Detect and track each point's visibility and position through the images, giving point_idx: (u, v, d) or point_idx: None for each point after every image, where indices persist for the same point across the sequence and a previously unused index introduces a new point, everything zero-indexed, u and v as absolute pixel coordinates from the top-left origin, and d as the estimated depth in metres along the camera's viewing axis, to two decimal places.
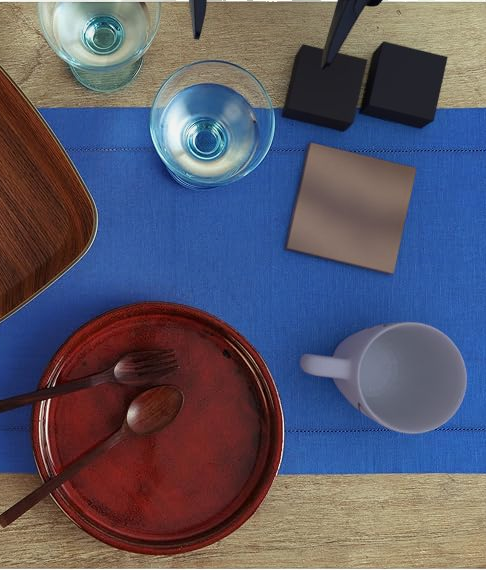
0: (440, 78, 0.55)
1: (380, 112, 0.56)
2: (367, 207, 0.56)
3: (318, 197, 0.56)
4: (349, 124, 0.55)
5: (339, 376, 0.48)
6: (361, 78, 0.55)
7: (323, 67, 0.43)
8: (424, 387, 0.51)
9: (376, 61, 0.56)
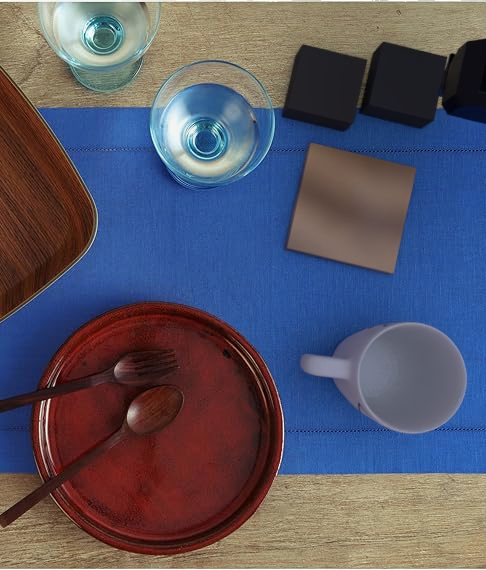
0: (440, 78, 0.55)
1: (380, 112, 0.56)
2: (367, 207, 0.56)
3: (318, 197, 0.56)
4: (349, 124, 0.55)
5: (339, 376, 0.48)
6: (361, 78, 0.55)
7: None
8: (424, 387, 0.51)
9: (376, 61, 0.56)
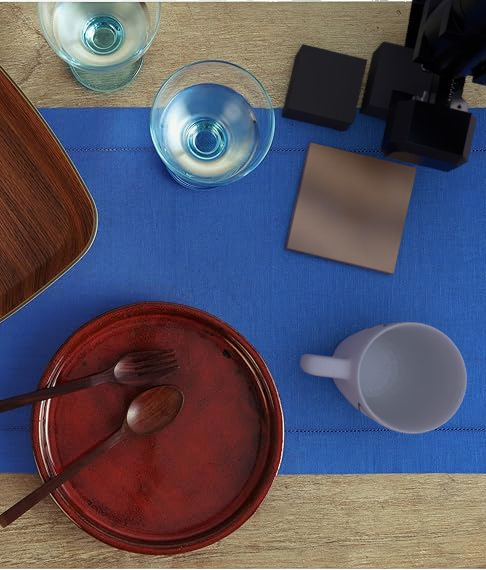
0: None
1: (380, 112, 0.56)
2: (367, 207, 0.56)
3: (318, 197, 0.56)
4: (349, 124, 0.55)
5: (339, 376, 0.48)
6: (361, 78, 0.55)
7: None
8: (424, 387, 0.51)
9: (376, 61, 0.56)
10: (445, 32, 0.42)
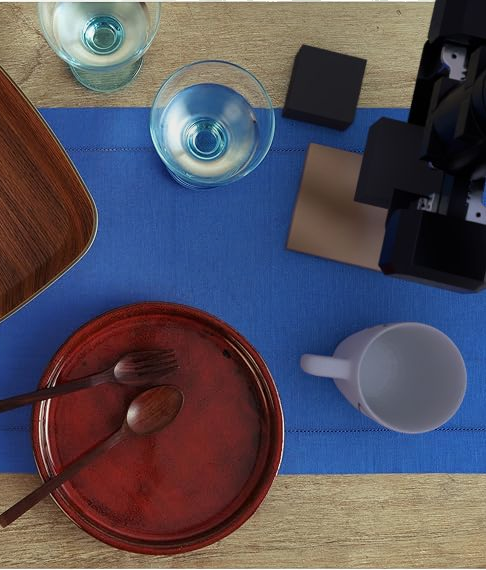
0: None
1: (378, 202, 0.46)
2: (367, 207, 0.56)
3: (318, 197, 0.56)
4: (349, 124, 0.55)
5: (339, 376, 0.48)
6: (361, 78, 0.55)
7: None
8: (424, 387, 0.51)
9: (373, 140, 0.46)
10: (462, 135, 0.32)
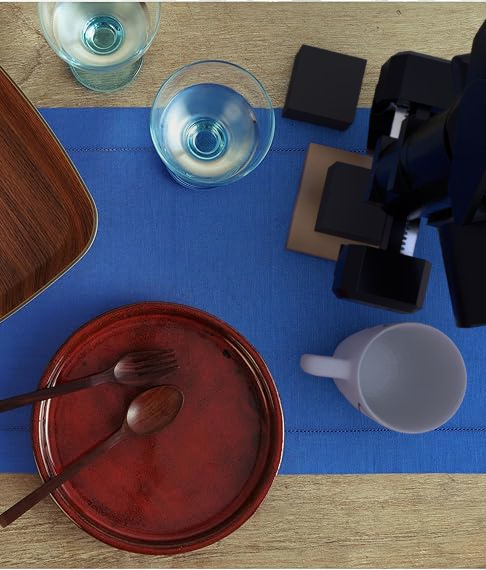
0: None
1: (334, 232, 0.55)
2: None
3: (318, 197, 0.56)
4: (349, 124, 0.55)
5: (339, 376, 0.48)
6: (361, 78, 0.55)
7: (371, 154, 0.54)
8: (424, 387, 0.51)
9: (330, 180, 0.54)
10: (392, 189, 0.40)
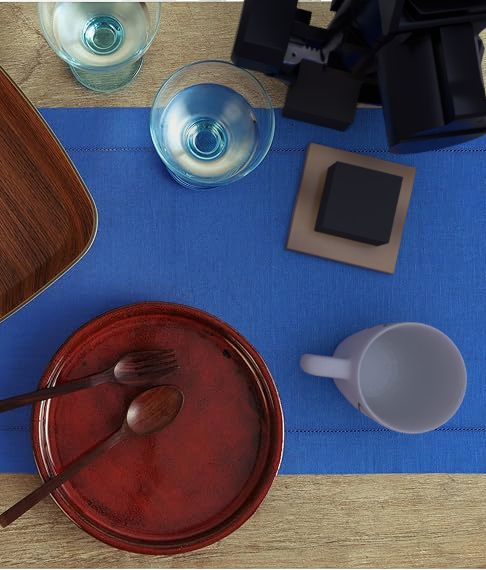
0: (395, 199, 0.54)
1: (334, 232, 0.55)
2: None
3: (318, 197, 0.56)
4: (349, 124, 0.55)
5: (339, 376, 0.48)
6: None
7: None
8: (424, 387, 0.51)
9: (330, 180, 0.54)
10: None
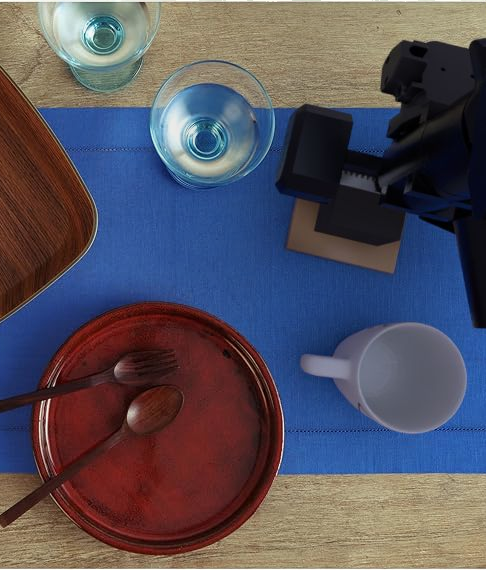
0: None
1: (334, 232, 0.55)
2: None
3: None
4: (396, 240, 0.51)
5: (339, 376, 0.48)
6: None
7: None
8: (424, 387, 0.51)
9: None
10: None
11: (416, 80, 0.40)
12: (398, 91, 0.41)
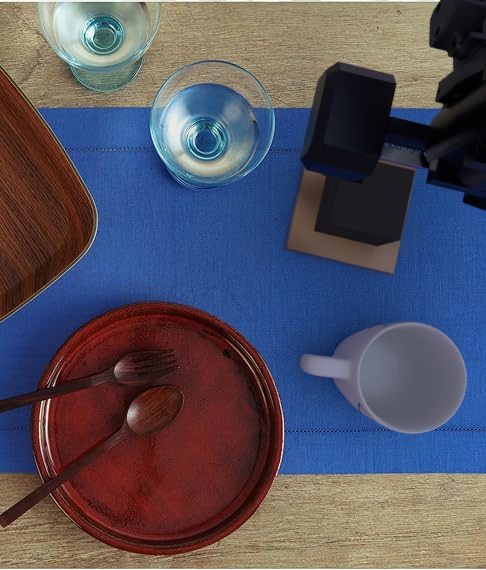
0: None
1: (334, 232, 0.55)
2: None
3: (318, 197, 0.56)
4: (396, 240, 0.51)
5: (339, 376, 0.48)
6: (409, 191, 0.51)
7: None
8: (424, 387, 0.51)
9: (330, 180, 0.54)
10: None
11: (475, 30, 0.33)
12: (452, 44, 0.34)
